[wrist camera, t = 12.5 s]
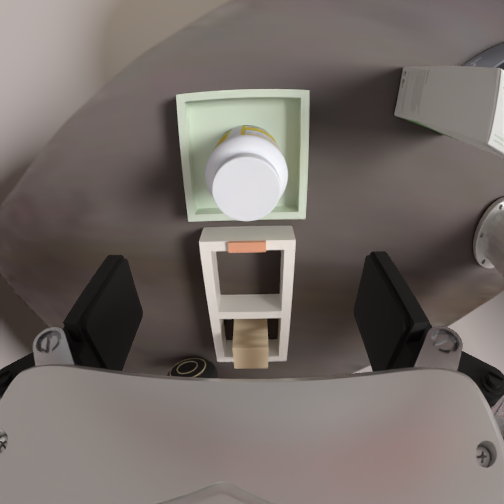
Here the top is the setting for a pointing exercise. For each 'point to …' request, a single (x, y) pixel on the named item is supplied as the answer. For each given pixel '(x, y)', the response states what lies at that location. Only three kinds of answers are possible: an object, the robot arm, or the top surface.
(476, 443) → the robot arm
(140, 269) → the top surface
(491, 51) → the external hard drive
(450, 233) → the top surface
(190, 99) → the tray
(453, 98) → the skincare box
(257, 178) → the pill bottle
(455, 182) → the top surface
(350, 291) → the top surface
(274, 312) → the holder
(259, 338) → the birch block
